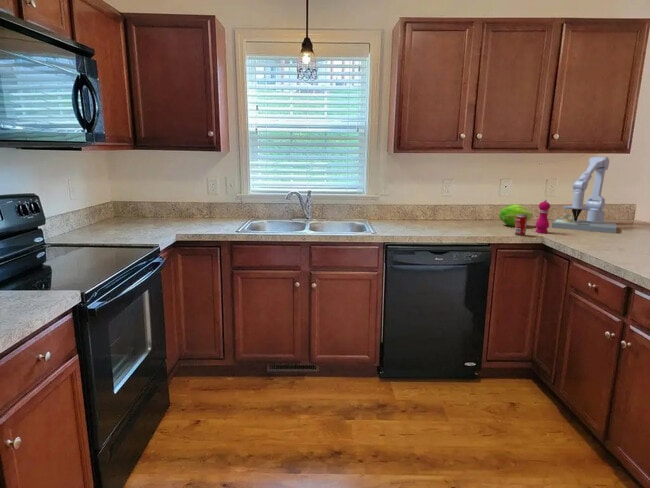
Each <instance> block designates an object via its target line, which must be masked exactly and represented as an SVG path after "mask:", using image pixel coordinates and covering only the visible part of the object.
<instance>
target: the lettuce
mask: <svg viewBox="0 0 650 488" xmlns="http://www.w3.org/2000/svg"><path fill="white" fill-rule="evenodd" d="M517 214H525V215H526V216H527V222H529V220H531V219H532V218H533V217H534V213H533V212H532V211H531V210H529V209H527V208H526V207H525V206H523V205H520V204H517V203H513V204H510V205H507V206H505V207H502V209H501V210H500V211H499V214H498V217H499V219H500V221H502V223H504V224H505V225H507V226H508V227H515V223H516V216H517Z"/></svg>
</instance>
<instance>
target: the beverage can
mask: <svg viewBox="0 0 650 488" xmlns="http://www.w3.org/2000/svg"><path fill="white" fill-rule="evenodd" d="M527 223H528V221H527V216H526V215H525V214H517V216H516V223H515V226H514V235H515V236H517V235H518V236H519V237H525V235H526V233H527V232H526V231H527Z"/></svg>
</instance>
